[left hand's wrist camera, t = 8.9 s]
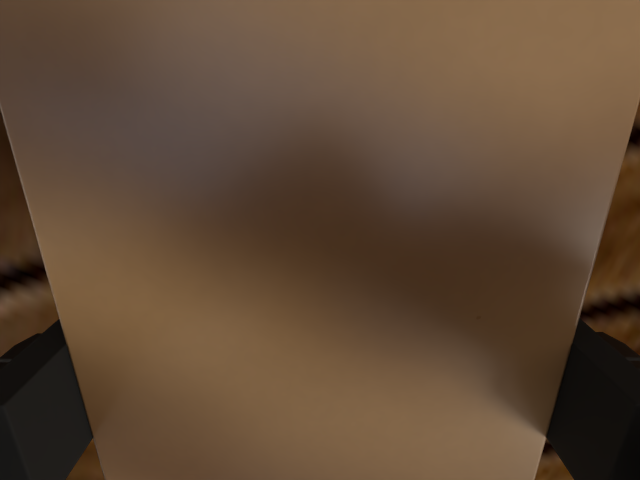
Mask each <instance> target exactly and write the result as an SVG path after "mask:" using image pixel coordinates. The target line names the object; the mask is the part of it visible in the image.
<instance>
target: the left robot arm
mask: <svg viewBox="0 0 640 480" xmlns="http://www.w3.org/2000/svg"><path fill="white" fill-rule="evenodd" d="M92 438H93V436H92V432H91V429H90V425H89V422H88V418H87V415H86V411H85V408H84V404H83V401H82V397H81V394H80V390H79V386H78V383H77V379H76V376H75V372H74V369H73V365H72V362H71V358H70V355H69V351H68V348H67V344H66V340H65V337H64V333H63V330H62V326H61V323H60V319H59V320H57V321H56V322H55V323H54V324H53V325H52V326H50V327H49V328H48V329H47V330H46V331H45V332H43V333H42V334H35V335H34V336H32V337H30V338H28V339H26V340H24V341H22V342H20V343H19V344H17V345H15V346H14V347H12V348H11V349H10V350H9V351H8V352H6V353H5V354H4V355H3V356H1V357H0V480H65V479H66V478H67V476H68V475H69V473H70V472H71V470H72V469H73V467H74V466H75V464H76V463H77V461H78V460H79V458H80V457H81V455H82V453H83V452H84V450H85V449H86V447H87V446H88V444H89V443H90V441H91V440H92ZM546 438H547V439H548V441H549V442H550V444H551V445H552V447H553V448H554V450H555V451H556V453H557V454H558V456H559V457H560V459H561V460H562V462H563V463H564V465H565V466H566V468H567V469H568V471H569V472H570V474H571V475H572V477H573V478H574V480H640V356H639V355H638V354H637V353H635V352H634V351H633V350H632V349H631V348H629V347H628V346H627V345H626V344H624V343H622V342H620V341H618V340H617V339H615V338H613V337H611V336H609V335H607V334H605V333H603V332H595V331H594V330H593V329H591V328H590V327H589V326H588V325H587V324H586V323H584V322H583V321H582V320H581V319H580V318H579V321H578V325H577V328H576V332H575V335H574V339H573V343H572V346H571V350H570V353H569V357H568V361H567V364H566V368H565V371H564V375H563V379H562V382H561V386H560V389H559V393H558V397H557V400H556V404H555V408H554V411H553V415H552V418H551V422H550V426H549V429H548V433H547V436H546Z"/></svg>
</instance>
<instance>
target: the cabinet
mask: <svg viewBox="0 0 640 480" xmlns="http://www.w3.org/2000/svg"><path fill="white" fill-rule="evenodd" d="M639 101H640V0H0V110H1V114H2V118H3V121H4V125H5V128H6V132H7V135H8V139H9V142H10V146H11V149H12V153H13V156H14V160H15V164H16V167H17V171H18V174H19V178H20V181H21V185H22V188H23V192H24V195H25V199H26V202H27V206H28V210H29V213H30V217H31V220H32V224H33V227H34V231H35V234H36V238H37V241H38V245H39V248H40V252H41V256H42V259H43V263H44V266H45V270H46V273H47V277H48V280H49V284H50V287H51V291H52V294H53V298H54V302H55V305H56V309H57V312H58V316H59V319H60V323H61V326H62V330H63V333H64V337H65V340H66V344H67V348H68V351H69V355H70V358H71V362H72V365H73V369H74V372H75V376H76V379H77V383H78V386H79V390H80V394H81V397H82V401H83V404H84V408H85V411H86V415H87V418H88V422H89V425H90V429H91V432H92V436H93V440H94V443H95V447H96V450H97V454H98V457H99V461H100V464H101V468H102V471H103V475H104V478H105V480H535V476H536V472H537V469H538V465H539V462H540V458H541V454H542V451H543V447H544V444H545V440H546V436H547V433H548V429H549V426H550V422H551V418H552V415H553V411H554V408H555V404H556V400H557V397H558V393H559V389H560V386H561V382H562V379H563V375H564V371H565V368H566V364H567V361H568V357H569V353H570V350H571V346H572V343H573V339H574V335H575V332H576V328H577V325H578V321H579V317H580V314H581V310H582V307H583V303H584V299H585V296H586V292H587V288H588V285H589V281H590V278H591V274H592V270H593V267H594V263H595V260H596V256H597V252H598V249H599V245H600V242H601V238H602V234H603V231H604V227H605V224H606V220H607V216H608V213H609V209H610V205H611V202H612V198H613V195H614V191H615V187H616V184H617V180H618V177H619V173H620V169H621V166H622V162H623V159H624V155H625V151H626V148H627V144H628V141H629V137H630V133H631V130H632V126H633V123H634V119H635V115H636V112H637V108H638V104H639Z"/></svg>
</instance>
